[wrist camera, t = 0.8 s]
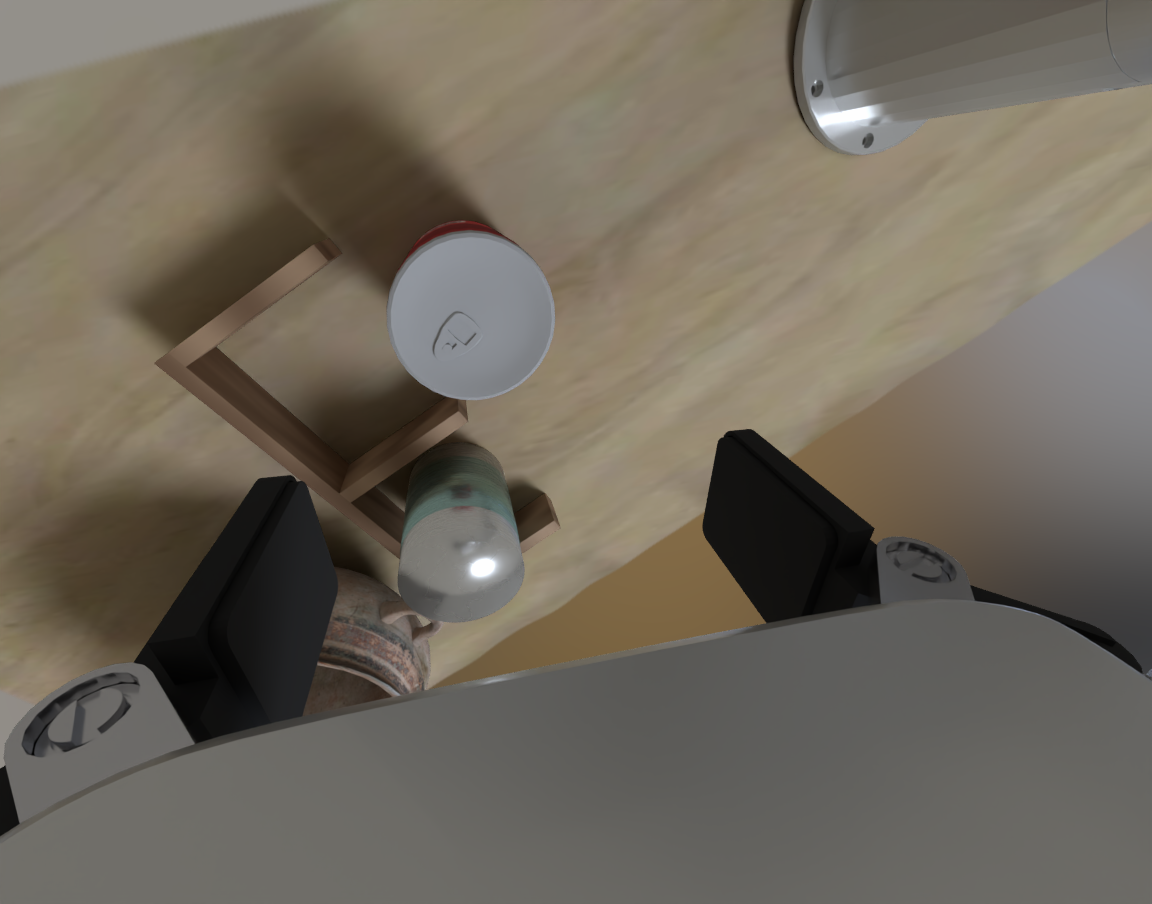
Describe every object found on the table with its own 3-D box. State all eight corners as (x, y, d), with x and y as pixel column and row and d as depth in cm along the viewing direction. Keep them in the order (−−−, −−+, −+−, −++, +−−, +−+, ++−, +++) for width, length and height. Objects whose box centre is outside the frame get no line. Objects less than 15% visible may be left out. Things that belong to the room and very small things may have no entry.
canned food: (384, 310, 30) (358, 361, 21) (434, 191, 28) (430, 190, 19) (490, 361, 34) (508, 425, 24) (543, 259, 31) (586, 287, 22)
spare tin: (467, 423, 36) (475, 505, 26) (523, 488, 40) (548, 578, 30) (387, 478, 36) (367, 577, 27) (450, 536, 40) (452, 640, 31)
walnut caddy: (329, 238, 28) (313, 244, 24) (551, 500, 41) (560, 527, 37) (188, 343, 28) (154, 363, 25) (450, 567, 42) (451, 600, 38)
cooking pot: (362, 459, 35) (327, 571, 24) (499, 596, 45) (516, 717, 34) (93, 625, 36) (-48, 800, 26) (286, 723, 46) (240, 877, 36)
